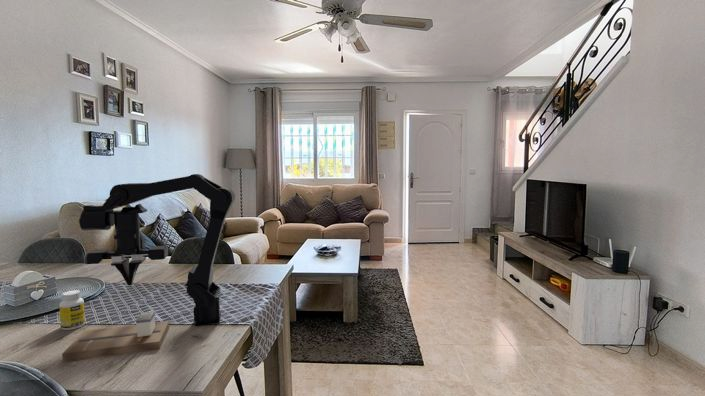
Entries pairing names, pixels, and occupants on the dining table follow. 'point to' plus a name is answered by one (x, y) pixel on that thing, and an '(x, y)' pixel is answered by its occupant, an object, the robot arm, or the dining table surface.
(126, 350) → the fader console
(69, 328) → the supplement bottle
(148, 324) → the fader tab
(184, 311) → the dining table surface
